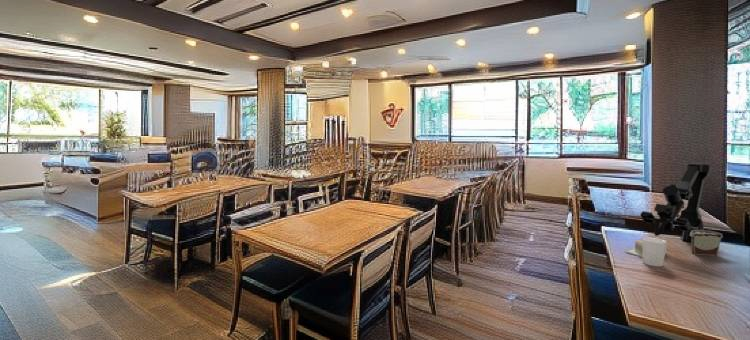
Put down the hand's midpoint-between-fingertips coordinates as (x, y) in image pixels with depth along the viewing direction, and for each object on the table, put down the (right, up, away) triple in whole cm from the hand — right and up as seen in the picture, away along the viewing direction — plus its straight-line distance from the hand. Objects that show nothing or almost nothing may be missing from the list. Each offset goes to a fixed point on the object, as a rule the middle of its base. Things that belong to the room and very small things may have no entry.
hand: (655, 235), depth 171 cm
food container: (+20, -8, 0) cm, 22 cm away
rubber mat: (-6, -8, -2) cm, 10 cm away
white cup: (-12, -9, -15) cm, 22 cm away
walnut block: (+2, -4, +1) cm, 5 cm away
